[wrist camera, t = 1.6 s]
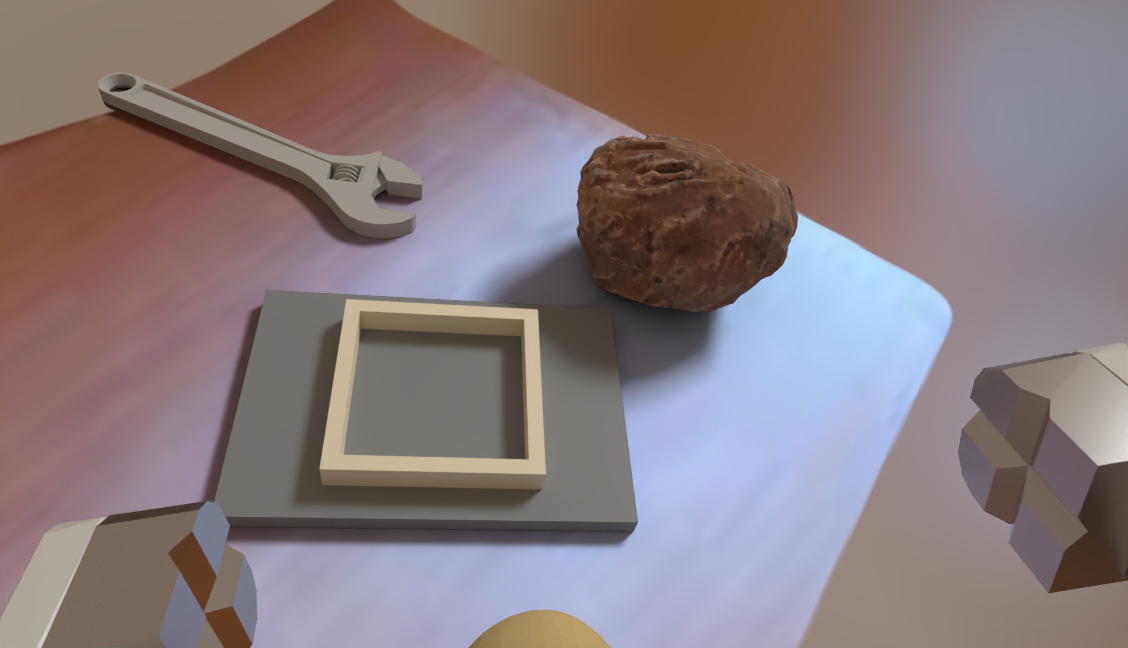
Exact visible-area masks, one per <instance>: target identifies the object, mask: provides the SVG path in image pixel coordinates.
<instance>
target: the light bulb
mask: <svg viewBox="0 0 1128 648" xmlns="http://www.w3.org/2000/svg"><path fill="white" fill-rule="evenodd" d="M469 648H611V647H610V646H609V645H608V644H607V643H606V642H605V640H604V639H603V638H602V637H601V636H600V635H599V634H598V633H597V632H595V631H594V630H593V629H592V628H590V627H589V626H588V625H587V624H585V623H584V622H582V621H580V620H578V619H577V618H575V617H573V616H571V615H568V614H566V613H564V612H558V611H553V610H532V611H527V612H523V613H520V614H517V615H514V616H511V617H508V618H506V619H504V620H502V621H501V622H499V623H497V624H495V625H494V626H492V627H491V628H489V629H488V630H487V631H485V632H484V633H483V634H482V635H481V636H480V637H479V638H478V639H477V640H476V641H475V642H474V643H473V644H472V645H471V646H470V647H469Z"/></svg>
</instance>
